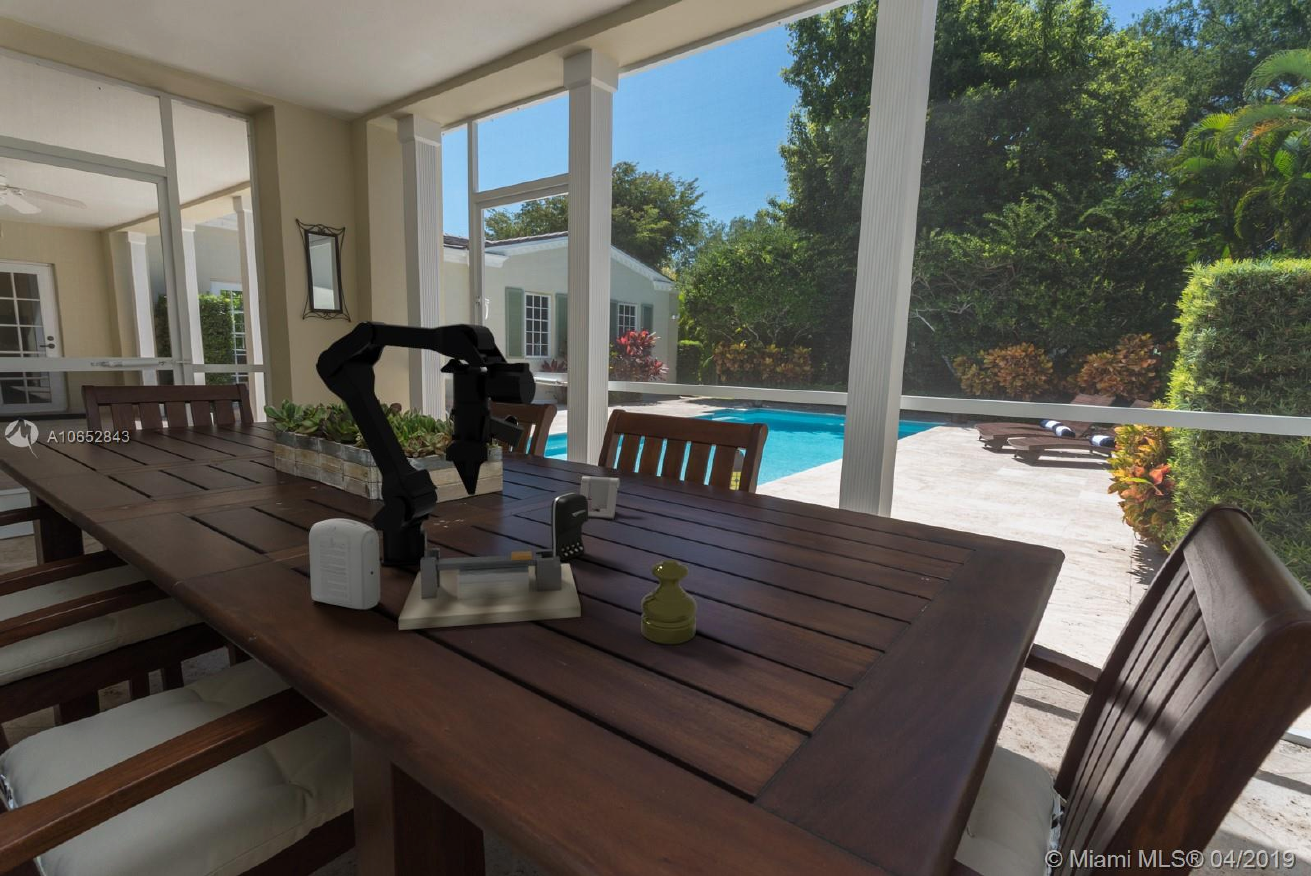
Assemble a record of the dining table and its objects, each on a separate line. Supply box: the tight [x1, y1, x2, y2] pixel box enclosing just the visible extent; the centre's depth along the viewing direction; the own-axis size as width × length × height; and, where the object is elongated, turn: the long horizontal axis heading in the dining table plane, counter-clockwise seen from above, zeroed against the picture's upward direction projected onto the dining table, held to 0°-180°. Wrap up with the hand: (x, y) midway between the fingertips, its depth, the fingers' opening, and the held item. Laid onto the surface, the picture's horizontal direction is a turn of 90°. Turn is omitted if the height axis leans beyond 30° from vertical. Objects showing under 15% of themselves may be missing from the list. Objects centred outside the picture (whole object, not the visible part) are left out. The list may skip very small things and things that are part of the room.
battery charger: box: [550, 492, 589, 561], centre depth 111 cm, size 7×4×11 cm, turn 148°
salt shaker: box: [640, 558, 698, 645], centre depth 81 cm, size 7×7×10 cm
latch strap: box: [436, 550, 542, 576], centre depth 91 cm, size 17×2×3 cm, turn 103°
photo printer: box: [308, 518, 381, 610], centre depth 89 cm, size 10×4×12 cm, turn 73°
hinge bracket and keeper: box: [419, 547, 562, 599], centre depth 92 cm, size 20×5×6 cm, turn 103°
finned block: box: [457, 566, 529, 601], centre depth 92 cm, size 10×8×4 cm
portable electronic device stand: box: [579, 475, 621, 519], centre depth 141 cm, size 9×8×8 cm
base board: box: [398, 563, 582, 631], centre depth 92 cm, size 24×18×2 cm
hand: (471, 494), depth 103 cm, fingers closed
